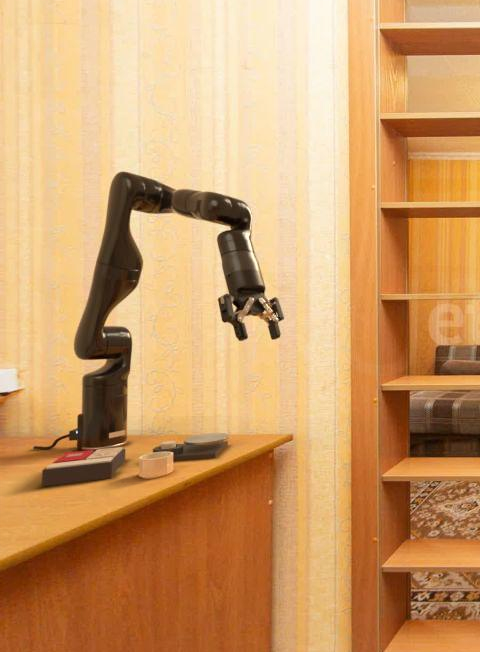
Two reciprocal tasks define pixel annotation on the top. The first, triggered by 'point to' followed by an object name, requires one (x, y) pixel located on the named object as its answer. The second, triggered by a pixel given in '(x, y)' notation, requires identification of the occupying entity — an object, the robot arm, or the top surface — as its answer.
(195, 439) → the pan
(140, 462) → the bowl
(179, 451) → the grey knob plate
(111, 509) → the top surface
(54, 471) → the calculator
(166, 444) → the button
